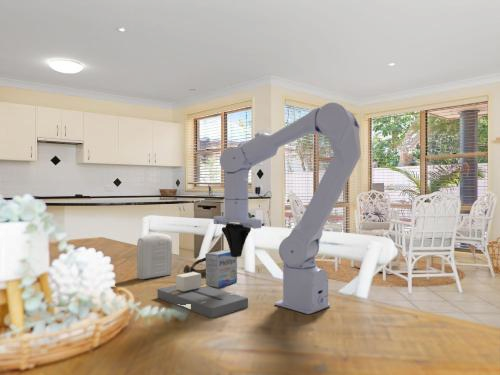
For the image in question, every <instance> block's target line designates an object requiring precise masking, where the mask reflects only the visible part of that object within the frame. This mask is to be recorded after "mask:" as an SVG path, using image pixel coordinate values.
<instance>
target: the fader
mask: <svg viewBox="0 0 500 375" xmlns="http://www.w3.org/2000/svg"><path fill="white" fill-rule="evenodd" d="M201 284H202V273H196V272H190V273H181V274H175V285H176V289H178V290H181V291H188V290H192V289H197V288H201Z"/></svg>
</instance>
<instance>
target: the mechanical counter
mask: <svg viewBox="0 0 500 375" xmlns="http://www.w3.org/2000/svg"><path fill="white" fill-rule="evenodd" d="M217 251H222V250H221V249H220V248H219V249H216V250H214V251H210V252H207V253H211V252H217ZM207 253H205V257H203V258H200V259H198V260H196V261H195V262H193V264H191V266H190V265H188V264H186V265H185V266H184V267H183V274H185V273H190V272H196V273H200V274H204V273H205V274H206V268H205V269H195V266H197V265H199V263H203V262H206V254H207Z"/></svg>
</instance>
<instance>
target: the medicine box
mask: <svg viewBox="0 0 500 375" xmlns="http://www.w3.org/2000/svg"><path fill="white" fill-rule="evenodd" d="M210 252H211V253H209V252H207V254H206V253H205V254H206V256H205V257H206V261H205V269H206V273H205V285H207V286H209V287H212V288H215V289H219V288H222V287H224V288H225V287H227V286H229V285H233V284H236V283H237V282H238V257H231V253H230V249H222V250H221V251H217V252H212V251H210Z"/></svg>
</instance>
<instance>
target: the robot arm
mask: <svg viewBox="0 0 500 375" xmlns="http://www.w3.org/2000/svg"><path fill="white" fill-rule="evenodd" d="M308 135H319V136H320V135H322V136H325V138H326V139H327V140H328V143H329V145H330V147H331V150H332V153H333V155H332V157H331V159H330V162H329V164H328V166H327V168H326V169H325V171H324V173H323V175H322V177H321V178H320V181H319V182H318V185H317V187H316V190H315V191H314V193H313V195H312V196H311V199H310V201H309V203H308V205H307V206H306V209H305V211H304V212H303V215H302V217H301V218H300V220H299V221H298V222H297V224H296V225H295V226H294V227H293V228H292V230H291V232H290V233H289V235H288V236H287V237H285V238H284V239H282V241H281V242H280V244H279V246H278V254H279V257H280V259H281V261H282V264H283V265H282V280H283V281H282V284H283V285H282V291H283V292H282V299H281V300H277V301H275V302H274V305H276V306H278V307H281V308H286V309H289V310H292V311H296V312H300V313H304V314H306V315H310V314H311V315H312V314H313V313H316V312H319V311H321V310H324V309H327V308H329V307H330V306H331V304H330V303H329V276H328V274H327V271H326V270H325V269H323V268H319V267H318V266H317V261H316V259H315V257H316V256H317V255H318V253H319V251H320V242H321V238H322V236H323V228H324V227H325V225H326V223H327V221H328V220H329V217H330V215H331V213H332V211H333V210H334V207H335V206H336V204H337V203H338V202H337V201H338V200H339V198H340V197H341V195H342V192H343V190H344V188H345V187H346V185H347V183H348V181H349V179H350V177H351V175H352V174H353V172H354V169H355V168H356V165H357V164H358V162H359V160H360V157H361V154H362V152H361V141H360V125H359V123H358V121H357V118H356V116H355V115H354V114H353V113H352V112H351V111H350V110H348V109H347V108H345V107H344V106H343V105H342V104H340V103H338V102H328V103H325V104H324V105H322V106H321V107H317V108H314V109H312V110H311V111H309V112H308V113H306V114H305V115H303V116H302V117H299V118H298V119H296V120H294V121H293V122H291V123H289V124H288V125H285V126H284V127H283V128H280V129H279V130H278V131H276V132H274V133H272V134H269V133H267V132H263V133H262V132H257V133H256V134H254V137H253V138H251V139H250V140H248V141H246V142H240V143H238V144H237V147H233V146H228V147H226V148H225V149H224V150H223V151H222V152H221V154H220V156H219V164H220V167H221V169H222V170H223V171H224V173H223V174H224V175H223V179H224V180H223V181H224V182H223V184H224V186H223V187H224V188H223V190H224V191H223V193H224V194H223V196H224V198H223V200H224V201H223V204H224V208H223V210H224V212H223V213H224V215H213V224H214V225H225V227H224V226H223V227H221V231H222V233H223V236H224V237H225V240H226V241H227V244H228V248H229V249H228V250H230V253H231V257H237V258H240V257H242V254H243V251H244V250H243V249H244V245H245V243H246V239H247V238H248V236H249V235H250V233H251V230H252V229H255V230H256V229H262V219H261V218H253V217H249V173H250V171H251V169H252V168H253V167H254V166H257V165H258V164H260V163H262V162H264V161H266V160H268V159H271V158H272V157H274V156H276V155H277V152H278V150H279V148H281V147H284V146H286V145H288V144H290V143H292V142H294V141H296V140H299V139H301V138H304V137H306V136H308Z"/></svg>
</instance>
